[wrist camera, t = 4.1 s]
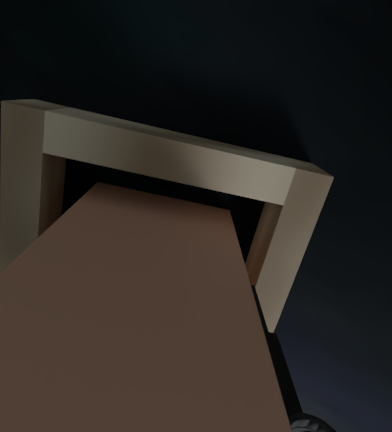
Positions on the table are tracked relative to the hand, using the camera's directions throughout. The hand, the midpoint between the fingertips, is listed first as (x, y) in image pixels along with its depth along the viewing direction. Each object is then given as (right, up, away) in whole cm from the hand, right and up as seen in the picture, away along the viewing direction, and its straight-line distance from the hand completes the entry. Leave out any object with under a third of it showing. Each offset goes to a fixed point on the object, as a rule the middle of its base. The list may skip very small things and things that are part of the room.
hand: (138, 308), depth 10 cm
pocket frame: (0, +1, +3) cm, 3 cm away
